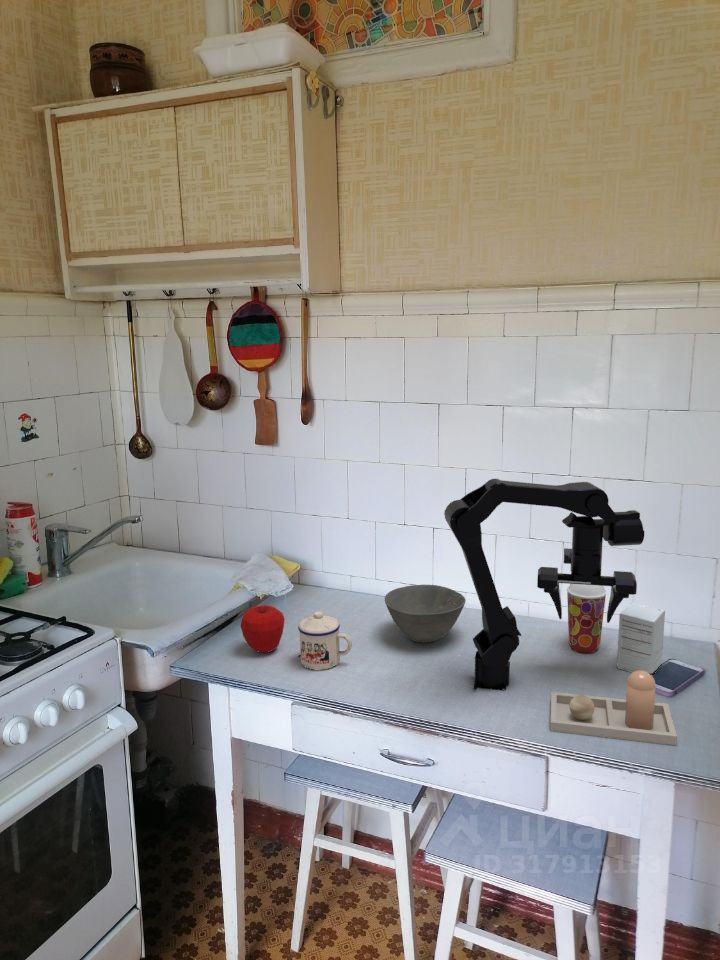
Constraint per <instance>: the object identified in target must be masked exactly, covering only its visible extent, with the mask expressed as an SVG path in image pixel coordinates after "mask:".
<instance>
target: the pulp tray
mask: <svg viewBox="0 0 720 960" xmlns="http://www.w3.org/2000/svg"><path fill="white" fill-rule="evenodd" d="M550 693H551V696H550V730H549V731H550V732H557V733H564V734H565V733H566V734H575V735H581V736H582V735H583V736H589V737H599V738H606V739H607V738H609V739H617V740H625V741H634V742H643V743H651V744H660V745H667V746H677V743H678V742H677V740H678V734H677V731H676V728H675V724H674V721H673V717H672V714H671V710H670V705H669V704H668V703H662V702H655V704H654V721H653V728H652V729H651V730H642V729H633V728H629V727H627V726H626V724H625V709H626V698H625V699H623V698H615V697H614V698H613V697H605V696H604V697H603V696H596V695H595V696H594V695H587V694H584V695H585V696H587V697H589V698H590V699H591V700H592V702H593V704H594V713H593V715H592V716H591V717H590V718H589V719H586V720H580V719H577V718H576V717H574V716H573V715H572V713H571V711H570V702H571V700H572V698H574V697H575V696H577V695H578V694H575V693H566V692H565V693H564V692H557V691H551V692H550Z"/></svg>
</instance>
